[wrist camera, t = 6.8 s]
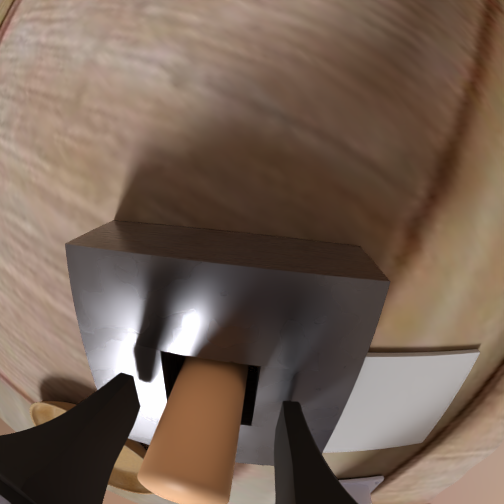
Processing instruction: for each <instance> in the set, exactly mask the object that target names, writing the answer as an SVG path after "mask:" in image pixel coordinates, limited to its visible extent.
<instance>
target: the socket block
mask: <svg viewBox="0 0 504 504" xmlns="http://www.w3.org/2000/svg"><path fill="white" fill-rule="evenodd" d="M65 247H66V256H67V264H68V271H69V278H70V284H71V290H72V295H73V301H74V306H75V311H76V315H77V320H78V324H79V329H80V333H81V337H82V341H83V345H84V348H85V352H86V355H87V359H88V362H89V366H90V369H91V372H92V375H93V379H94V382H95V385H96V388H97V390H98V389H100V388H101V387H102V386H104V385H105V384H106V383H107V382H109V381H110V380H111V379H113V378H114V377H115V376H116V375H118V374H119V373H121V372H122V373H126V374H129V375H133V376H134V380H135V385H136V389H137V394H138V398H139V402H140V406H141V407H140V410H139V413H138V416H137V419H136V422H135V424H134V427H133V429H132V431H131V433H130V435H129V437H128V439H132V440H135V441H138V442H141V443H145V444H148V445H150V442H151V440H152V437H153V435H154V433H155V430H156V428H157V425H158V423H159V420H160V418H161V415H162V413H163V411H164V408H165V406H166V403H167V401H168V398H169V396H170V394H171V391H172V389H173V386H174V384H175V382H176V379H177V377H178V375H179V372H180V370H181V367H182V365H183V363H184V360H185V358H186V356H192V357H198V358H204V359H211V360H217V361H224V362H231V363H239V364H247V365H256V366H258V369H257V372H248V374H247V381H246V389H245V396H244V403H243V410H242V417H241V424H240V431H239V438H238V445H237V451H236V458H235V462H238V463H247V464H257V465H271V466H274V441H275V429H276V425H277V421H278V418H279V414H280V410H281V406H282V402H283V401H297V402H299V403H300V405H301V408H302V411H303V414H304V417H305V420H306V422H307V425H308V427H309V430H310V432H311V434H312V436H313V438H314V440H315V442H316V444H317V446H318V448H319V450H320V452H321V454H322V452H323V451H324V449H325V447H326V445H327V443H328V441H329V439H330V437H331V435H332V433H333V431H334V429H335V427H336V425H337V423H338V421H339V419H340V417H341V415H342V413H343V410H344V408H345V406H346V404H347V402H348V399H349V397H350V395H351V393H352V390H353V388H354V386H355V383H356V381H357V378H358V376H359V373H360V371H361V368H362V366H363V363H364V361H365V358H366V355H367V353H368V350H369V347H370V344H371V342H372V339H373V336H374V333H375V330H376V327H377V324H378V321H379V318H380V315H381V311H382V308H383V305H384V302H385V298H386V295H387V291H388V288H389V284H390V281H389V280H388V278H387V277H386V276H385V275H384V274H383V272H382V271H381V270H380V269H379V268H378V266H377V265H376V264H375V263H374V262H373V261H372V259H371V258H370V257H369V256H368V255H367V254H366V253H365V251H364V250H363V249H362V248H361V247H360V246H353V245H345V244H337V243H329V242H320V241H312V240H303V239H295V238H286V237H277V236H268V235H259V234H250V233H240V232H231V231H221V230H211V229H201V228H191V227H181V226H170V225H159V224H148V223H137V222H126V221H114V220H113V221H111V222H109V223H107V224H105V225H102V226H100V227H98V228H96V229H94V230H92V231H90V232H88V233H86V234H84V235H82V236H80V237H78V238H76V239H74V240H72V241H70V242H68V243H66V244H65Z"/></svg>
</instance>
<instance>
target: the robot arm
mask: <svg viewBox="0 0 504 504" xmlns="http://www.w3.org/2000/svg"><path fill="white" fill-rule="evenodd" d="M140 407H141V406H140V402H139V398H138V394H137V389H136V385H135V380H134V376H133V375H129V374H126V373H122V372H121V373H119V374H118V375H116V376H115V377H114V378H113V379H111V380H110V381H109V382H107V383H106V384H105V385H104V386H102V387H101V388H100V389H98V390H97V391H96V392H94V393H93V394H92V395H90V396H89V397H88V398H86V399H85V400H83V401H82V402H81V403H79V404H77V405H76V406H74V407H73V408H71V409H70V410H68V411H66V412H65V413H63V414H61V415H59V416H58V417H56V418H54V419H52V420H50V421H47V422H45V423H43V424H40V425H38V426H35V427H32V428H30V429H27V430H23V431H20V432H16V433H12V434H7V435H1V436H0V504H102V503H103V499H104V495H105V491H106V488H107V485H108V482H109V479H110V476H111V473H112V470H113V467H114V465H115V463H116V460H117V458H118V457H119V455H120V453H121V451H122V449H123V447H124V445H125V443H126V441H127V439H128V437H129V435H130V433H131V431H132V429H133V427H134V424H135V422H136V419H137V416H138V413H139V410H140ZM274 468H275V491H276V502H275V504H372V500H371V494H370V493H371V492H372V491H373V490H374V489H375V488H376V487H377V486H378V485H379V484H380V483H381V482H382V481H383V480H384V477H383V476H375V477H368V478H359V479H348V480H338V479H337V478H336V476H335V475H334V473H333V472H332V471H331V469H330V467H329V466H328V464H327V463H326V461H325V459H324V457H323V456H322V454H321V452H320V450H319V448H318V446H317V444H316V442H315V440H314V438H313V436H312V434H311V432H310V430H309V427H308V425H307V422H306V420H305V417H304V414H303V411H302V408H301V405H300V403H299V402H297V401H283V402H282V406H281V410H280V414H279V418H278V421H277V425H276V429H275V441H274Z"/></svg>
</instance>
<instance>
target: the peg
mask: <svg viewBox="0 0 504 504" xmlns="http://www.w3.org/2000/svg"><path fill="white" fill-rule="evenodd" d="M248 367H249V365H247V364H239V363H231V362H224V361H217V360H211V359H204V358H198V357H192V356H186V358H185V360H184V363H183V365H182V367H181V370H180V372H179V375H178V377H177V379H176V382H175V384H174V386H173V389H172V391H171V394H170V396H169V398H168V401H167V403H166V406H165V408H164V411H163V413H162V415H161V418H160V420H159V423H158V425H157V428H156V430H155V433H154V435H153V437H152V440H151V442H150V445H149V447H148V450H147V452H146V455H145V457H144V460H143V462H142V465H141V467H140V470H139V472H138V475H137V478H138V480H139V482H140V483H141V484H142V485H143V486H144V487H145V488H146V489H148V490H149V491H151V492H153V493H154V494H156V495H158V496H160V497H162V498H165V499H167V500H170V501H173V502H176V503H179V504H227V503H228V502H229V498H230V491H231V485H232V478H233V472H234V465H235V458H236V451H237V445H238V438H239V431H240V424H241V417H242V410H243V403H244V396H245V389H246V381H247V374H248Z"/></svg>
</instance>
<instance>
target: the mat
mask: <svg viewBox="0 0 504 504" xmlns="http://www.w3.org/2000/svg"><path fill="white" fill-rule="evenodd" d="M479 353H480V351H479V350H478V349H471V350H458V351H442V352H414V353H367V355H366V358H365V361H364V363H363V366H362V368H361V371H360V373H359V376H358V378H357V381H356V383H355V386H354V388H353V390H352V393H351V395H350V397H349V399H348V402H347V404H346V406H345V408H344V410H343V413H342V415H341V417H340V419H339V421H338V423H337V425H336V427H335V429H334V431H333V433H332V435H331V437H330V439H329V441H328V443H327V445H326V447H325V449H324V451H323V452H322V453H325V452H351V451H364V450H375V449H384V448H392V447H399V446H405V445H412V444H417V443H422V442H423V441H424V440H425V438H426V437H427V436H428V434H429V433H430V432H431V431H432V429H433V428H434V426H435V425H436V424H437V422H438V421H439V420H440V418H441V417H442V415H443V414H444V412H445V411H446V409H447V408H448V407H449V405H450V403H451V402H452V400H453V399H454V397H455V396H456V394H457V393H458V391H459V389H460V388H461V386H462V384H463V383H464V381H465V379H466V377H467V376H468V374H469V372H470V370H471V369H472V367H473V365H474V363H475V361H476V359H477V357H478V355H479Z"/></svg>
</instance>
